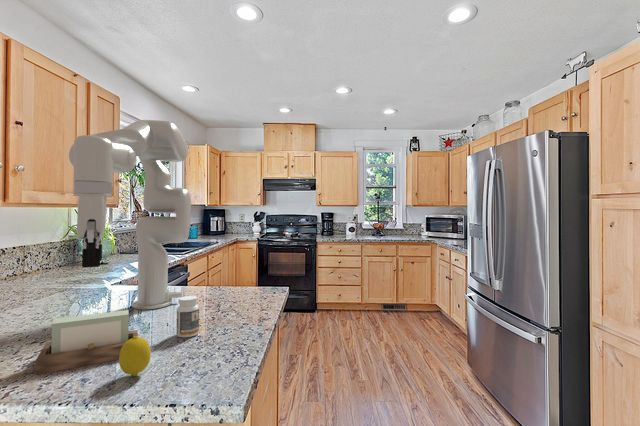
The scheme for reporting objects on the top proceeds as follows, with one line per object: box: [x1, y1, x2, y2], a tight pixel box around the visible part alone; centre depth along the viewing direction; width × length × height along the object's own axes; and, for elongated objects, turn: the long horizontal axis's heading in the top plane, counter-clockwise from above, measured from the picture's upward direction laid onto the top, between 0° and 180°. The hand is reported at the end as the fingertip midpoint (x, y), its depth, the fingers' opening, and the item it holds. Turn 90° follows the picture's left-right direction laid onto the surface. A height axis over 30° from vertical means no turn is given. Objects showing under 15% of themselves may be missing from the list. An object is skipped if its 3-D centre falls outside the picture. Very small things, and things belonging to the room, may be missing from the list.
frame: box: [51, 309, 130, 354], centre depth 74 cm, size 14×4×8 cm, turn 121°
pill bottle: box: [175, 295, 200, 338], centre depth 88 cm, size 6×6×10 cm
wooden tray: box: [35, 329, 139, 376], centre depth 74 cm, size 18×10×4 cm, turn 121°
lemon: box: [118, 335, 152, 377], centre depth 65 cm, size 6×6×8 cm
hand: (92, 263), depth 76 cm, fingers open, 9 cm apart
